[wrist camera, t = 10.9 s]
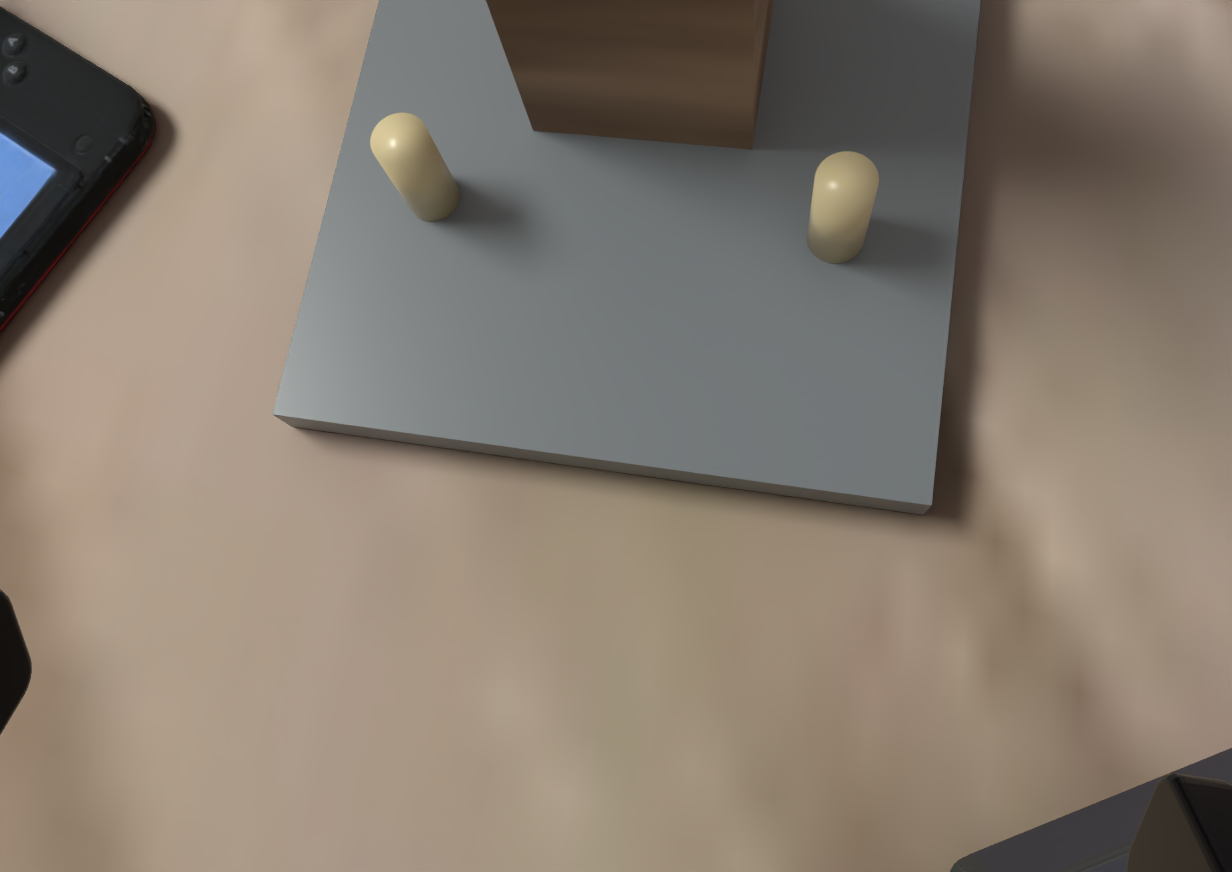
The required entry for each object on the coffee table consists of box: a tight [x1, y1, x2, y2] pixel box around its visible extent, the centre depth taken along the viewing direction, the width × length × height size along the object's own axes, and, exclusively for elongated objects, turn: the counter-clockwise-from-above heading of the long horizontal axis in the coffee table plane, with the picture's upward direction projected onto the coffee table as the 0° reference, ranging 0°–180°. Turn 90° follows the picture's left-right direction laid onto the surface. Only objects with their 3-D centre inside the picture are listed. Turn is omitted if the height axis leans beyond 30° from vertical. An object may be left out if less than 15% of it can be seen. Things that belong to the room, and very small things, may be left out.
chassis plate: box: [273, 0, 981, 515], centre depth 23 cm, size 20×14×4 cm
